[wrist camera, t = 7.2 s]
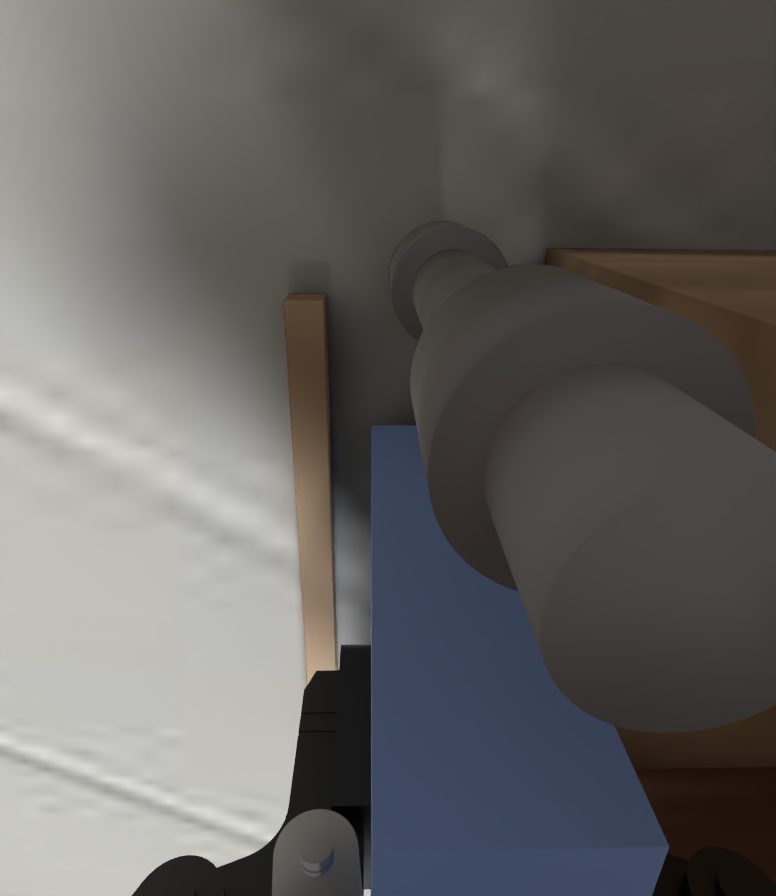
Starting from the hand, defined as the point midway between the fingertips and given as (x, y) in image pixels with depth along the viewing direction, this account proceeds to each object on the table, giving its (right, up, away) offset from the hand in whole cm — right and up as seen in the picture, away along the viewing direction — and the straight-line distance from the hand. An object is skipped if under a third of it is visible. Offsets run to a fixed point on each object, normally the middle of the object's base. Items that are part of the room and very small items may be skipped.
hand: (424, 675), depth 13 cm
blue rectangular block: (0, +1, +2) cm, 2 cm away
